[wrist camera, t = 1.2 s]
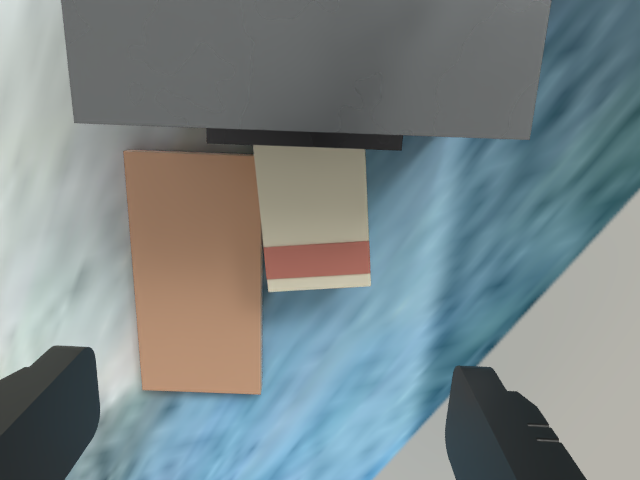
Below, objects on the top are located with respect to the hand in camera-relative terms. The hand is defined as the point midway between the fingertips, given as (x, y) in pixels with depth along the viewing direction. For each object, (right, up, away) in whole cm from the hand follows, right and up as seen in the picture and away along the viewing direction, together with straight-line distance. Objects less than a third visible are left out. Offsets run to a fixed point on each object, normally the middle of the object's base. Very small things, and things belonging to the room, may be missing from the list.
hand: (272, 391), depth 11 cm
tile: (-6, +1, +17) cm, 18 cm away
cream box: (+1, +8, +15) cm, 17 cm away
